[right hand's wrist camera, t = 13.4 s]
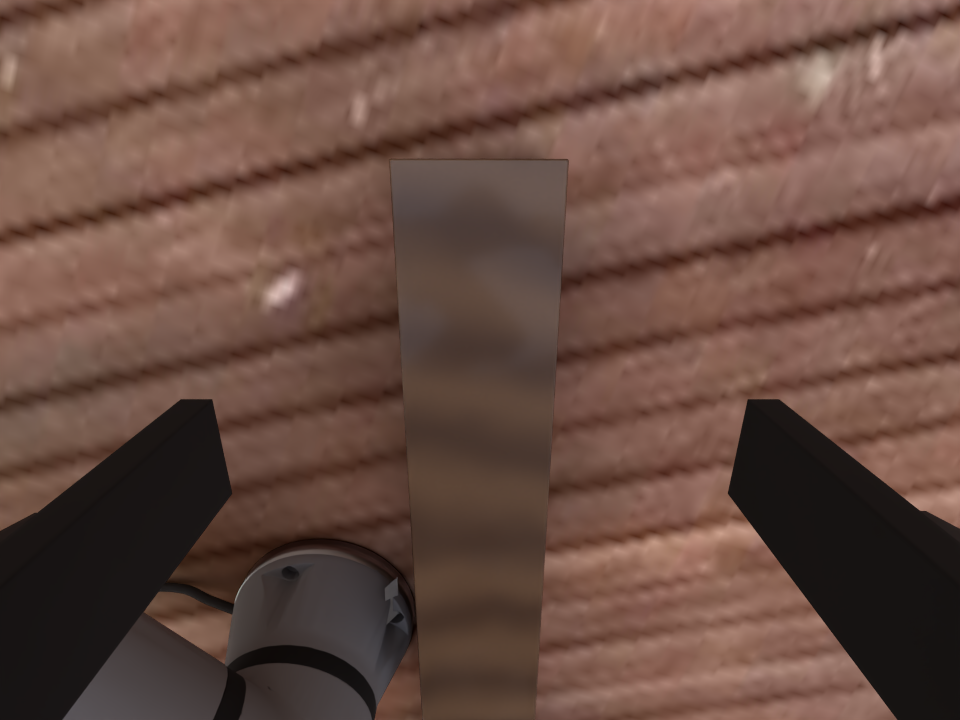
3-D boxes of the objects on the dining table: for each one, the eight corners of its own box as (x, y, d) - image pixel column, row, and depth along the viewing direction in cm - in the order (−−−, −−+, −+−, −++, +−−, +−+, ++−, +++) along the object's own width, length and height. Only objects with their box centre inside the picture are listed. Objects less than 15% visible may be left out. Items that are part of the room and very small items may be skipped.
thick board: (409, 159, 32) (388, 158, 25) (548, 159, 32) (569, 159, 25) (440, 833, 58) (434, 929, 50) (516, 833, 58) (522, 929, 50)
